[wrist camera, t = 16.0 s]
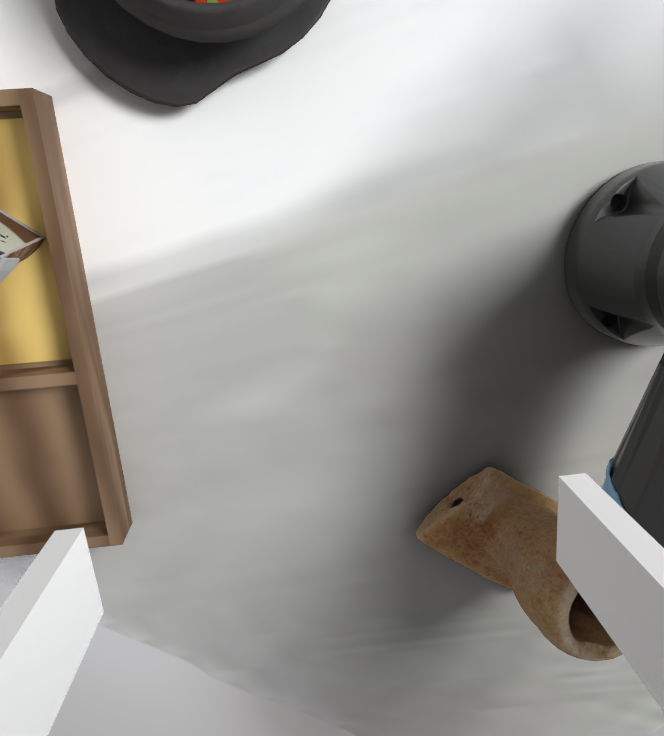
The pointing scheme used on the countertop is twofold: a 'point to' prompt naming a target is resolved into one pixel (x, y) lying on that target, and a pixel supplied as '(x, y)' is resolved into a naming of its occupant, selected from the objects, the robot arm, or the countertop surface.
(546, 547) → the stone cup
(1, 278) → the food container
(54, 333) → the walnut divided tray
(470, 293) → the countertop surface
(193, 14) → the casserole
